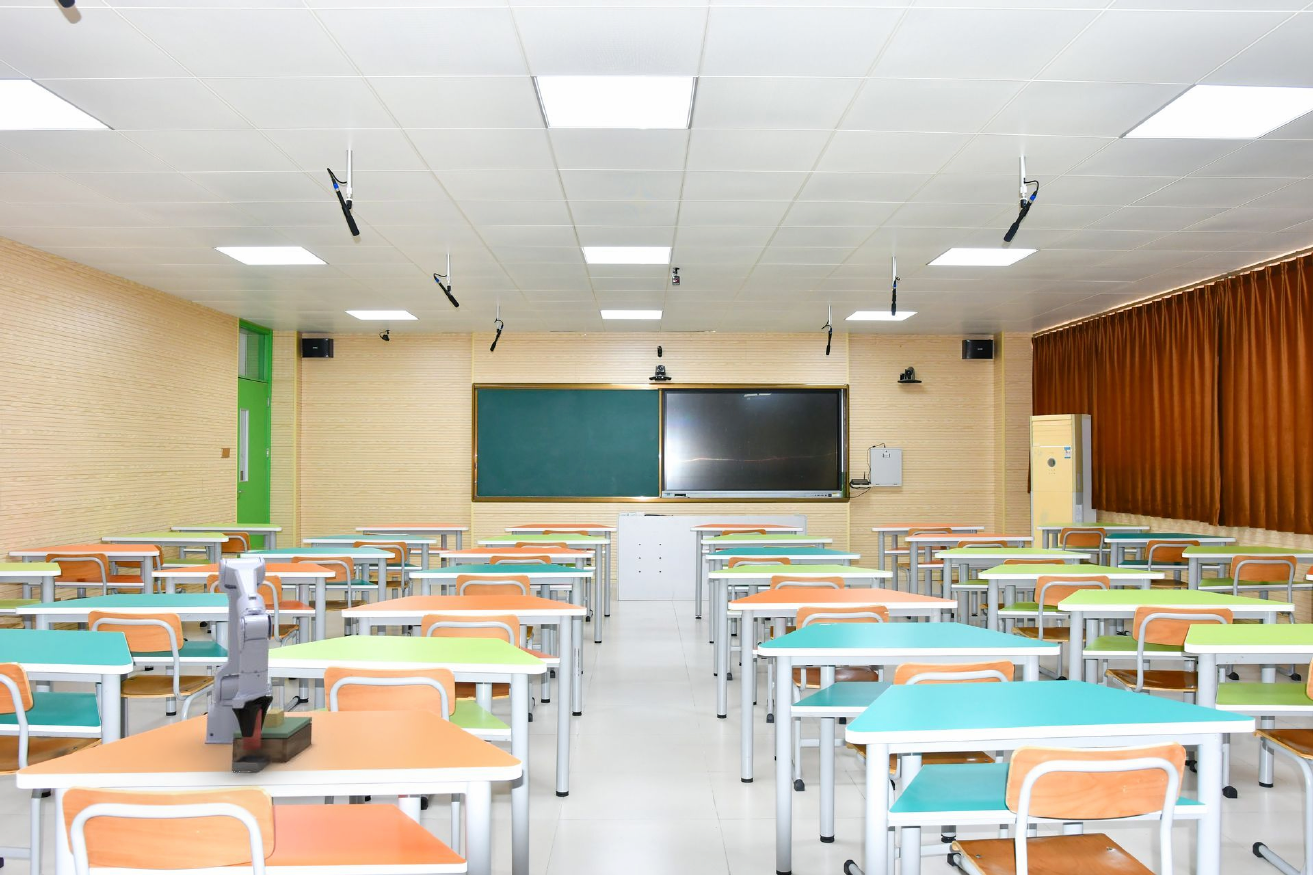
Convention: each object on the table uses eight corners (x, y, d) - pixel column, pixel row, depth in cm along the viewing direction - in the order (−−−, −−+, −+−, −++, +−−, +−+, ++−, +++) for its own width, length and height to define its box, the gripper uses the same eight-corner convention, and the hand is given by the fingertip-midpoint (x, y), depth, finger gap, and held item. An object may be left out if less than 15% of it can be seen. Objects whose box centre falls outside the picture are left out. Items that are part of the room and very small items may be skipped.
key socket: (231, 771, 188) (232, 762, 188) (244, 763, 193) (244, 754, 194) (257, 772, 188) (258, 762, 188) (269, 763, 193) (269, 754, 194)
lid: (232, 737, 195) (233, 719, 195) (261, 720, 209) (261, 703, 209) (287, 737, 195) (287, 719, 195) (311, 721, 209) (312, 704, 209)
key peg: (239, 749, 189) (240, 712, 190) (247, 745, 193) (248, 707, 193) (256, 750, 189) (257, 712, 190) (263, 745, 193) (264, 708, 193)
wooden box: (232, 762, 195) (232, 739, 195) (260, 743, 209) (261, 722, 209) (286, 762, 195) (286, 739, 195) (311, 743, 209) (311, 722, 209)
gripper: (256, 677, 185) (255, 743, 184) (286, 663, 199) (284, 724, 198) (223, 677, 185) (221, 743, 184) (254, 663, 199) (253, 724, 198)
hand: (251, 733), depth 191 cm, fingers closed on key peg, 4 cm apart
